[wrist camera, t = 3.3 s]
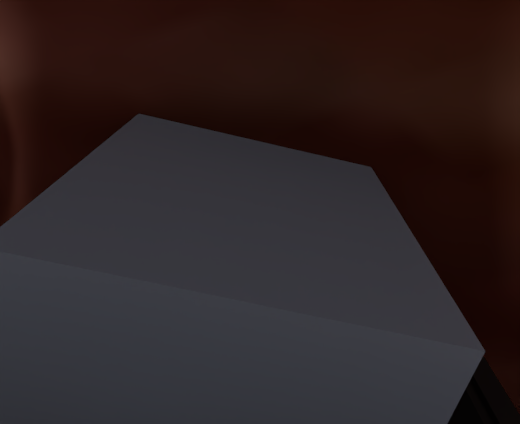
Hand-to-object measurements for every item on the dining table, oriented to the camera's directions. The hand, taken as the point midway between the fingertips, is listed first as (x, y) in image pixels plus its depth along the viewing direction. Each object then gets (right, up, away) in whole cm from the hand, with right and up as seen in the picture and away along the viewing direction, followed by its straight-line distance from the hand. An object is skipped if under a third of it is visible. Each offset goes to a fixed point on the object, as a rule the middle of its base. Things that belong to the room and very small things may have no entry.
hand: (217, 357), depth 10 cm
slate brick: (0, +1, +2) cm, 2 cm away
